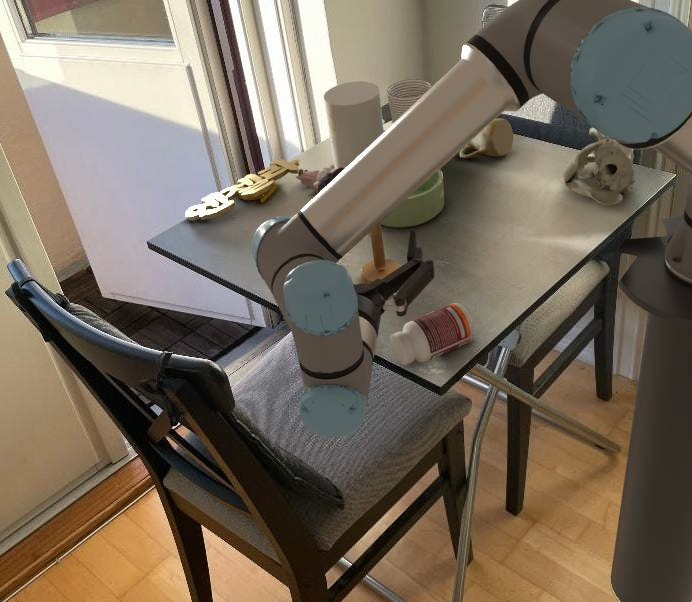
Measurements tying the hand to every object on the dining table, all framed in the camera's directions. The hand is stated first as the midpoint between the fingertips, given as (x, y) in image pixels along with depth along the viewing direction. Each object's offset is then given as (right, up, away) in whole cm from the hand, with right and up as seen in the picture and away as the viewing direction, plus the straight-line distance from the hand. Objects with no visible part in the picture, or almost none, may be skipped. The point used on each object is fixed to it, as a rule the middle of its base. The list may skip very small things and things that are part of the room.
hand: (366, 240), depth 117 cm
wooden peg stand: (+3, -5, +15) cm, 15 cm away
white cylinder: (0, +21, +45) cm, 50 cm away
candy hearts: (+4, +30, +52) cm, 60 cm away
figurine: (-7, +14, +38) cm, 41 cm away
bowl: (+8, +11, +31) cm, 34 cm away
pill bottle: (+14, -12, -1) cm, 18 cm away
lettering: (-23, +16, +41) cm, 49 cm away
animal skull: (+43, +13, +28) cm, 53 cm away
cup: (+11, +22, +43) cm, 49 cm away
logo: (-18, +16, +41) cm, 47 cm away
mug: (+24, +24, +43) cm, 55 cm away
